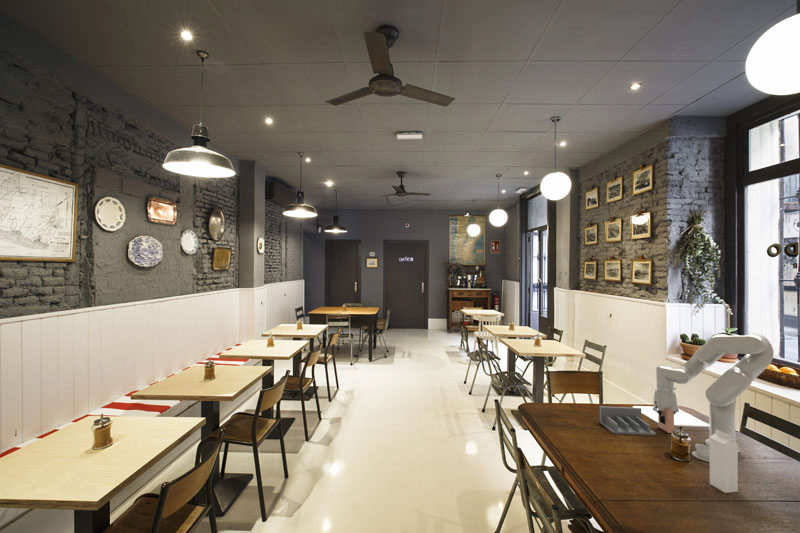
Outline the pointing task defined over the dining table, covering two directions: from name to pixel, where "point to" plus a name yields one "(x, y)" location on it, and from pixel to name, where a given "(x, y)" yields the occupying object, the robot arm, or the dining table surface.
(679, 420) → the tray
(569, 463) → the dining table surface
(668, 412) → the plate block
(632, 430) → the dish rack
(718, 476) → the milk
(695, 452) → the teacup
